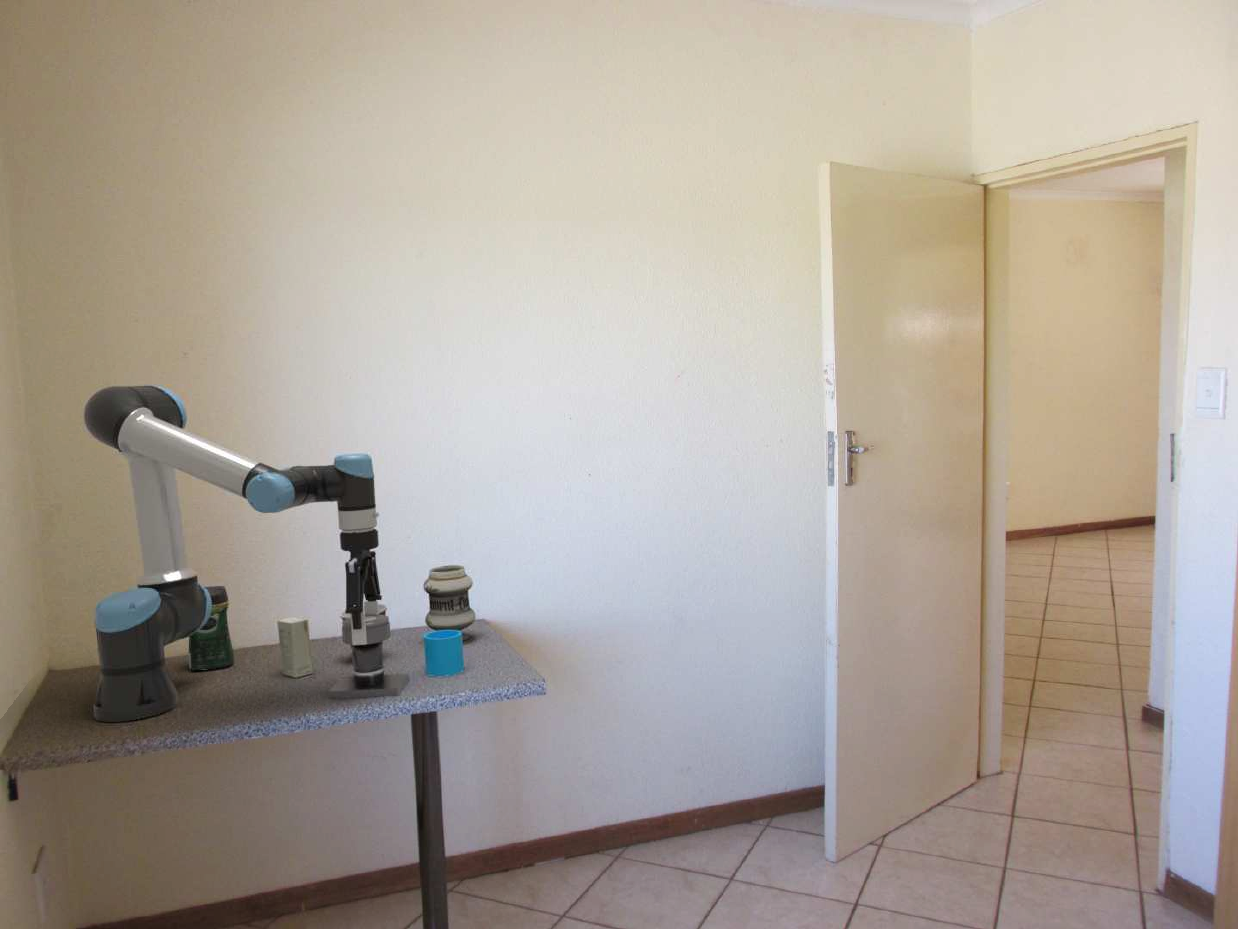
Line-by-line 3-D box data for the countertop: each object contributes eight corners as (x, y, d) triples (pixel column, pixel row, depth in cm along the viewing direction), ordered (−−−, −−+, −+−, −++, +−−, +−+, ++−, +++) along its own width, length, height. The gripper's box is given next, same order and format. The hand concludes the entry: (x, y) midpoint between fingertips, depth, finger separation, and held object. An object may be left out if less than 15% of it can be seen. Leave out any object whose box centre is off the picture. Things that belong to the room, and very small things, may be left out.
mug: (464, 674, 209) (462, 637, 208) (426, 678, 207) (423, 641, 207) (462, 660, 220) (460, 624, 220) (426, 663, 219) (423, 627, 218)
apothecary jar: (418, 647, 233) (413, 573, 232) (438, 634, 245) (434, 563, 244) (465, 647, 231) (461, 572, 229) (484, 634, 242) (479, 563, 241)
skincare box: (313, 673, 215) (309, 619, 214) (295, 678, 212) (291, 623, 211) (299, 669, 219) (294, 615, 218) (280, 674, 216) (276, 619, 215)
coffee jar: (235, 659, 230) (229, 582, 229) (233, 668, 223) (226, 588, 221) (190, 665, 227) (184, 586, 226) (187, 674, 220) (180, 592, 218)
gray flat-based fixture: (328, 698, 196) (324, 647, 195) (343, 683, 206) (339, 634, 205) (397, 695, 196) (394, 644, 195) (409, 680, 206) (406, 632, 205)
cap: (383, 643, 196) (381, 623, 195) (337, 646, 196) (336, 625, 195) (394, 632, 205) (393, 612, 204) (351, 634, 205) (349, 614, 205)
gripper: (361, 537, 188) (370, 651, 189) (390, 521, 209) (397, 624, 211) (323, 539, 188) (332, 653, 189) (355, 523, 210) (363, 626, 211)
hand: (366, 638), depth 200 cm, fingers closed on cap, 9 cm apart
